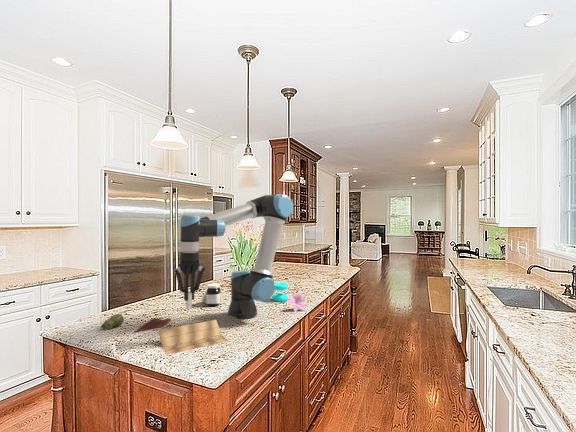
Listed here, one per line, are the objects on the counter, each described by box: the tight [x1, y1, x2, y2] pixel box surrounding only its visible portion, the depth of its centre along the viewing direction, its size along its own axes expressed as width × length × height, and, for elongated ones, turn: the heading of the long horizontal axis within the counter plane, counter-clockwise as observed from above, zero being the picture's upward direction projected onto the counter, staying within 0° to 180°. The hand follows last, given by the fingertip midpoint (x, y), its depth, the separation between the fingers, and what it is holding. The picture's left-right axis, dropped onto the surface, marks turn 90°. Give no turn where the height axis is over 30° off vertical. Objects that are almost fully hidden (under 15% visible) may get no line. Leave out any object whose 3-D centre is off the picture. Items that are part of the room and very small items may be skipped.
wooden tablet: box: [132, 317, 172, 334], centre depth 148 cm, size 27×10×2 cm, turn 175°
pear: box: [101, 313, 125, 331], centre depth 151 cm, size 6×5×10 cm
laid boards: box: [162, 334, 229, 356], centre depth 128 cm, size 24×7×1 cm, turn 123°
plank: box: [158, 319, 223, 348], centre depth 135 cm, size 24×8×1 cm
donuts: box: [271, 282, 289, 302], centre depth 199 cm, size 10×10×10 cm
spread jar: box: [201, 283, 222, 307], centre depth 189 cm, size 12×11×12 cm
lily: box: [286, 289, 308, 313], centre depth 179 cm, size 12×12×10 cm
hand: (189, 307), depth 136 cm, fingers closed
